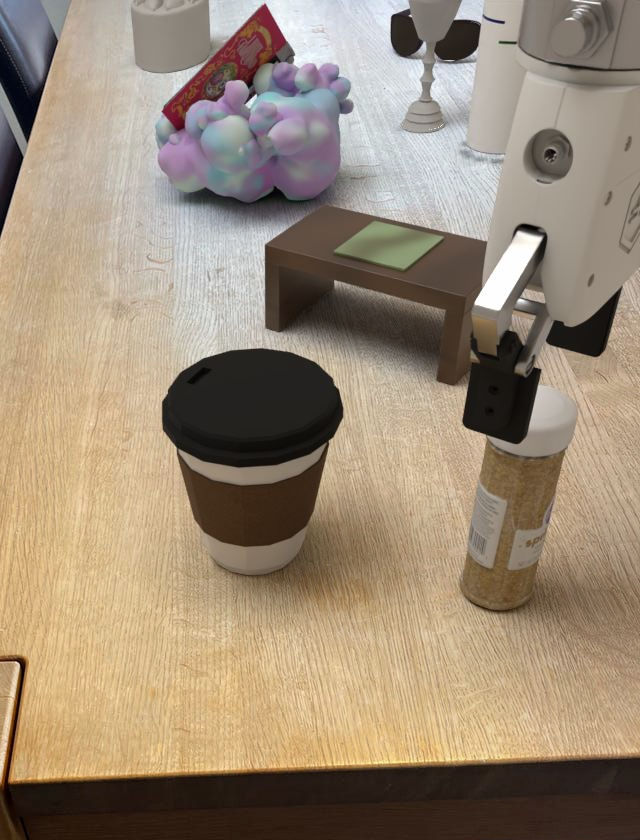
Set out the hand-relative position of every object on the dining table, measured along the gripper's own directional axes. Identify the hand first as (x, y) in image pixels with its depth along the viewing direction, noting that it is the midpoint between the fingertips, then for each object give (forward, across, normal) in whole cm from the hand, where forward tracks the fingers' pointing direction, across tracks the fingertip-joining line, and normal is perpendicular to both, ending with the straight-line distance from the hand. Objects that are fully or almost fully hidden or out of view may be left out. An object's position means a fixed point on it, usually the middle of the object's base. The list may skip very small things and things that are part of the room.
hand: (535, 389), depth 53 cm
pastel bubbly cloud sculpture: (+14, +44, +50) cm, 68 cm away
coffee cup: (+15, -4, +15) cm, 21 cm away
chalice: (+14, +68, +42) cm, 81 cm away
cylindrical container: (+14, +68, +32) cm, 76 cm away
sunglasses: (+14, +96, +53) cm, 111 cm away
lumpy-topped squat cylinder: (+14, +76, +86) cm, 116 cm away
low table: (+14, +24, +22) cm, 36 cm away
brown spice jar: (+15, 0, 0) cm, 15 cm away
